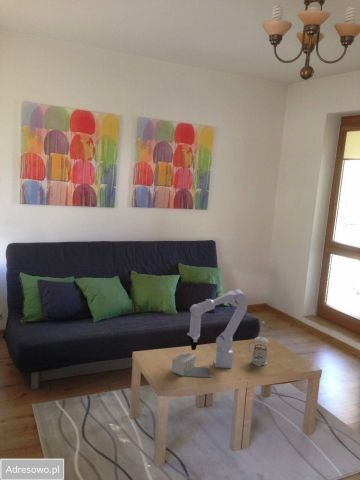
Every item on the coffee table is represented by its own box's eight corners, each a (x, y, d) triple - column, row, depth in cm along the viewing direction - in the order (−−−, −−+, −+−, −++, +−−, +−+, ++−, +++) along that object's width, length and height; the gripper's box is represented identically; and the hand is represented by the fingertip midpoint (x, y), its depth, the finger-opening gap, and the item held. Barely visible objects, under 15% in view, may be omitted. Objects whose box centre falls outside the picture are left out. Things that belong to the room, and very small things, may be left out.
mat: (208, 368, 233) (208, 367, 233) (210, 377, 222) (210, 377, 222) (176, 366, 232) (176, 365, 232) (176, 376, 222) (176, 375, 222)
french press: (266, 367, 239) (270, 325, 236) (246, 363, 243) (250, 322, 239) (268, 360, 249) (272, 320, 245) (249, 356, 252) (253, 317, 248)
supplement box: (183, 364, 235) (170, 371, 225) (184, 351, 234) (172, 358, 224) (194, 368, 232) (182, 376, 221) (195, 355, 231) (183, 363, 220)
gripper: (187, 321, 239) (185, 343, 241) (188, 330, 224) (187, 354, 226) (199, 321, 239) (197, 344, 241) (201, 331, 225) (200, 355, 227)
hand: (193, 349), depth 234 cm, fingers closed
